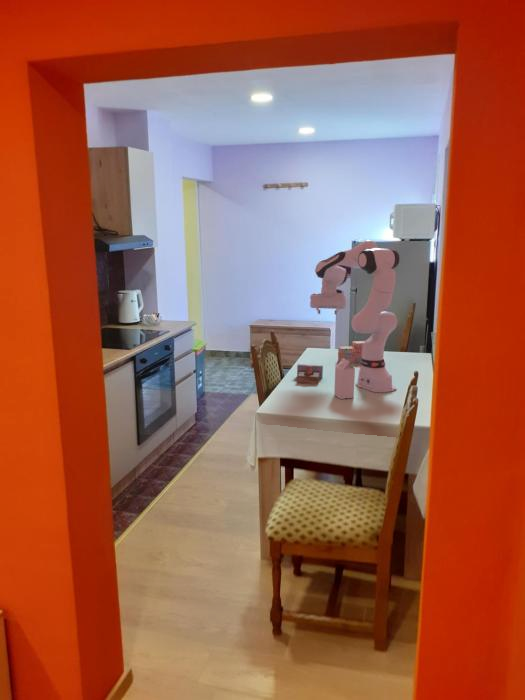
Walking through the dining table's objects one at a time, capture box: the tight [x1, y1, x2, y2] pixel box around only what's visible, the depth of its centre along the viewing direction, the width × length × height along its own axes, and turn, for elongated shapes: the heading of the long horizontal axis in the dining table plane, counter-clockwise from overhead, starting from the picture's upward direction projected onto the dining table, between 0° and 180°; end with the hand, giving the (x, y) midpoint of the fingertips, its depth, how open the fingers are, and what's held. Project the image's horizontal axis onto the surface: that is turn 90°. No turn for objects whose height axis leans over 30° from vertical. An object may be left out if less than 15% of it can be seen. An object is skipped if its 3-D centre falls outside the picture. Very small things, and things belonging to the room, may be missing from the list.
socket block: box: [297, 371, 320, 385], centre depth 311 cm, size 11×11×4 cm
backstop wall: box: [296, 364, 324, 379], centre depth 318 cm, size 2×14×7 cm, turn 81°
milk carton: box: [333, 358, 356, 400], centre depth 282 cm, size 7×7×19 cm
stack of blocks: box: [337, 340, 366, 364], centre depth 355 cm, size 21×6×12 cm, turn 104°
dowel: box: [306, 364, 312, 375], centre depth 311 cm, size 3×3×8 cm
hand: (327, 313), depth 321 cm, fingers open, 8 cm apart
